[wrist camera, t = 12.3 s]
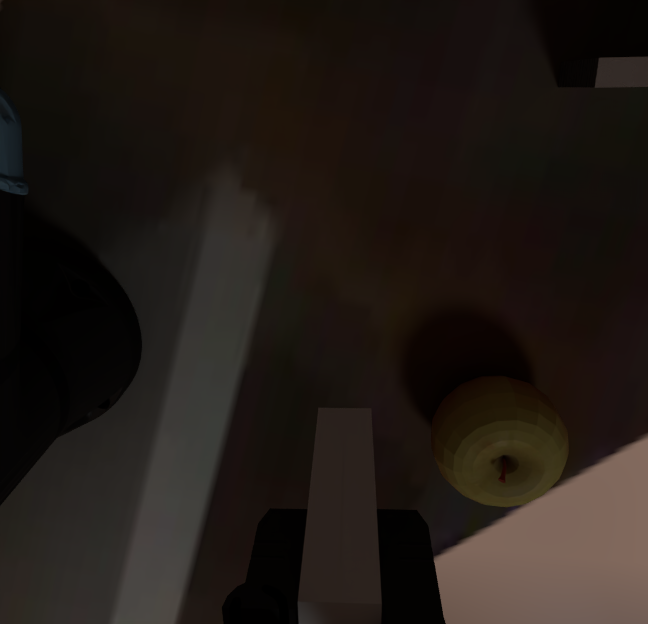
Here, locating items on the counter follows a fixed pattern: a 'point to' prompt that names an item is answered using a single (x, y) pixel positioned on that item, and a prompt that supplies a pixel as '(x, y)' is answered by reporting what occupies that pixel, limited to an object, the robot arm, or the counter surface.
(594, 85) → the gray open-sided box
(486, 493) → the apple
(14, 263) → the robot arm
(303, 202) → the counter surface
